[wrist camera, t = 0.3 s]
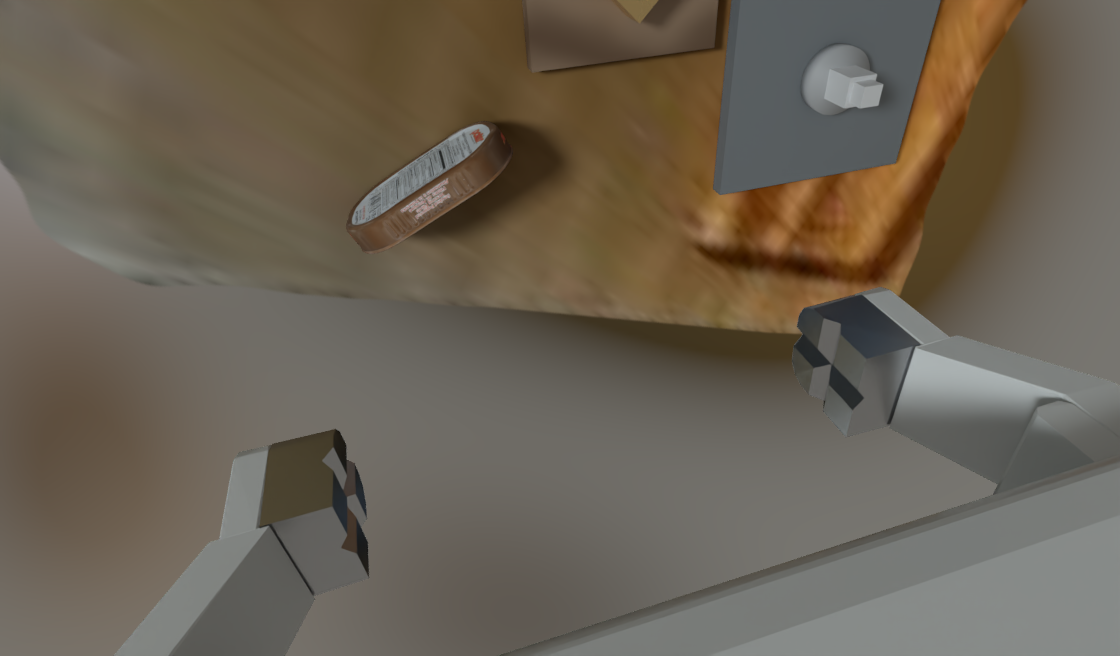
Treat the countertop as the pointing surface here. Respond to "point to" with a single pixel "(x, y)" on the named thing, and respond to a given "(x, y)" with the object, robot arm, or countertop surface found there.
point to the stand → (612, 31)
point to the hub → (817, 87)
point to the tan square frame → (635, 8)
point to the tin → (429, 186)
